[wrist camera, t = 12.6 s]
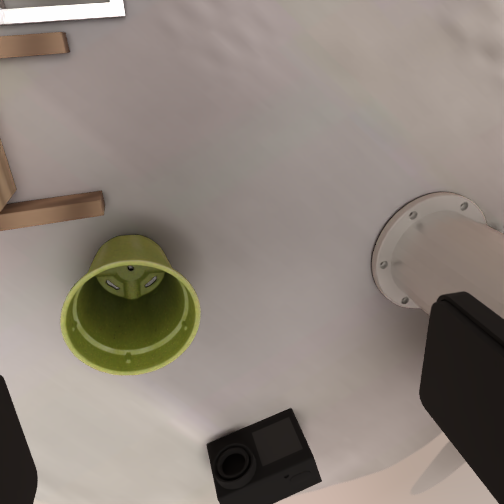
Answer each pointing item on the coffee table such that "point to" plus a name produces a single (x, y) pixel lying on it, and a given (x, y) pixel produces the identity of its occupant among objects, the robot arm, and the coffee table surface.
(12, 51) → the bay
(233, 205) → the coffee table surface
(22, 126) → the coffee table surface
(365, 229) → the coffee table surface
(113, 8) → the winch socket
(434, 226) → the robot arm
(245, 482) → the digital camera
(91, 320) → the plant pot
